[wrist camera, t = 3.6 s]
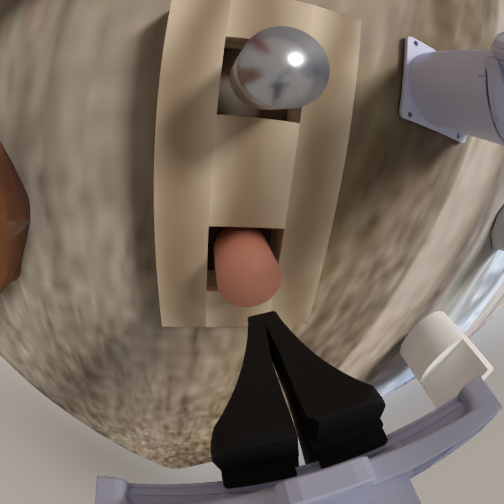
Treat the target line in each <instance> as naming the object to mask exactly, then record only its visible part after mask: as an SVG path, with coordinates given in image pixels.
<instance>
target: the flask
mask: <svg viewBox="0 0 504 504" xmlns="http://www.w3.org/2000/svg"><path fill="white" fill-rule="evenodd" d="M491 239H492V247H493V248H496V249H499V250H503V251H504V207H503V208H502V210H501V211H500V212H499V214H498V215H497V218H496V221H495V224H494V226H493V229H492V232H491Z"/></svg>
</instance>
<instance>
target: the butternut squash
mask: <svg viewBox="0 0 504 504" xmlns="http://www.w3.org/2000/svg"><path fill="white" fill-rule="evenodd" d="M29 224H30V204H29V198H28V195H27V193H26V190H25V188H24V186H23V184H22V182H21V180H20V178H19V176H18V174H17V171H16V169H15V167H14V165H13V163H12V162H11V160H10V158H9V156H8V154H7V153H6V151H5V149H4V148H3V146H2V144H1V142H0V293H1V292H2V291H3V290H4V289H5V288H6V287H7V285H8V284H9V283H10V282H12V281H14V280H16V279H17V278H18V277H19V276H20V273H21V263H22V257H23V252H24V247H25V243H26V238H27V234H28V229H29Z"/></svg>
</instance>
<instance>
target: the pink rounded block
mask: <svg viewBox="0 0 504 504" xmlns="http://www.w3.org/2000/svg"><path fill="white" fill-rule="evenodd" d="M213 252H214V262H215V271H216V280H217V287H218V291H219V293H220V295H221V296H222V297H223V298H224V299H225V300H226V301H227V302H228V303H230V304H232V305H235V306H239V307H254V306H258V305H260V304H263V303H265V302H266V301H268V300H269V299H271V298H272V297H273V296H274V295H275V294H276V292H277V291H278V289H279V287H280V285H281V280H282V273H281V269H280V267H279V265H278V263H277V261H276V259H275V257H274V255H273V253H272V251H271V249H270V247H269V245H268V243H267V241H266V239H265V237H264V235H263V233H262V232H261V231H260V230H259V229H258V228H253V227H226V228H225V229H223V230H222V231H221V232H220V233H219V234H218V236H217V237H216V239H215V242H214V247H213Z"/></svg>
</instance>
